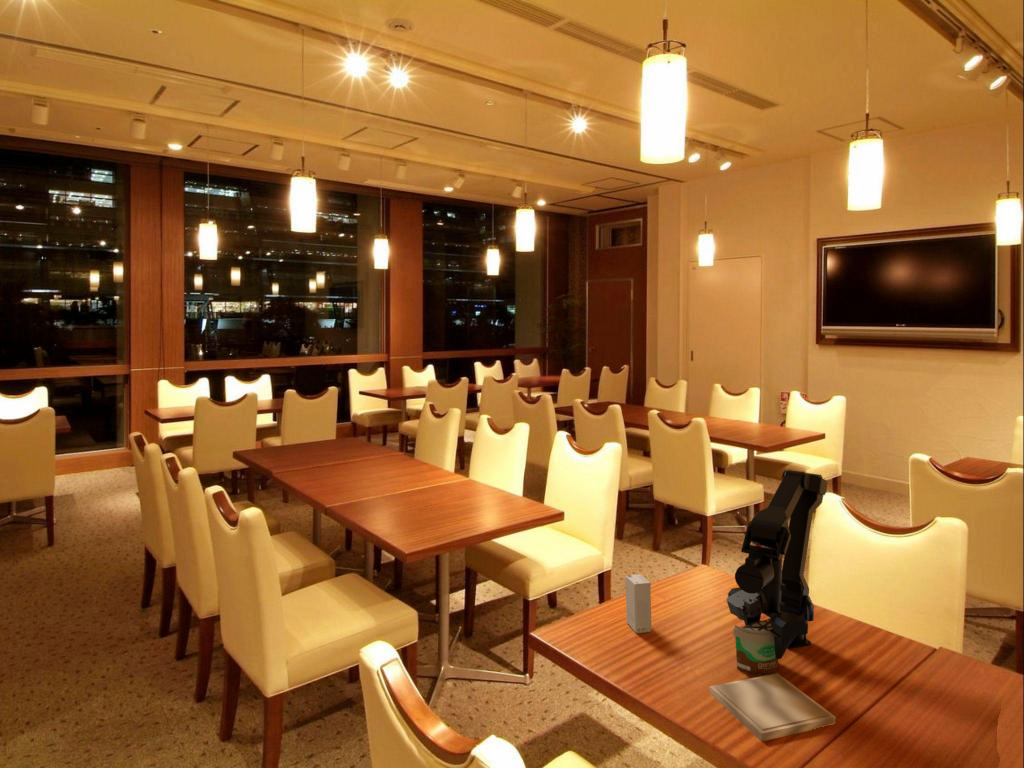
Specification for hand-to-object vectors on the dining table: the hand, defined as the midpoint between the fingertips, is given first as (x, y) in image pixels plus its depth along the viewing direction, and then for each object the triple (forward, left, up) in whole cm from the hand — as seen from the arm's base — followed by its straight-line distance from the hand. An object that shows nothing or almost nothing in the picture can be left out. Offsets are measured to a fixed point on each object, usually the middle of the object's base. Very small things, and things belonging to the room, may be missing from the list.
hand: (764, 649), depth 141 cm
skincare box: (+16, -26, -5) cm, 31 cm away
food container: (0, 0, -5) cm, 5 cm away
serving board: (+8, +12, -5) cm, 15 cm away
